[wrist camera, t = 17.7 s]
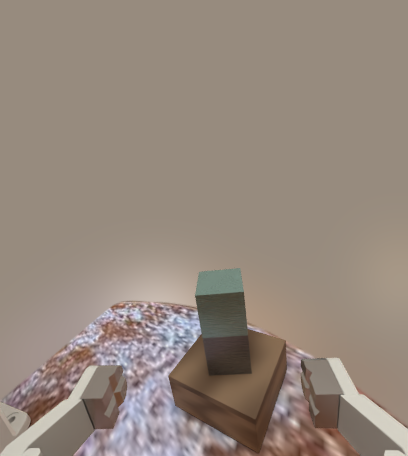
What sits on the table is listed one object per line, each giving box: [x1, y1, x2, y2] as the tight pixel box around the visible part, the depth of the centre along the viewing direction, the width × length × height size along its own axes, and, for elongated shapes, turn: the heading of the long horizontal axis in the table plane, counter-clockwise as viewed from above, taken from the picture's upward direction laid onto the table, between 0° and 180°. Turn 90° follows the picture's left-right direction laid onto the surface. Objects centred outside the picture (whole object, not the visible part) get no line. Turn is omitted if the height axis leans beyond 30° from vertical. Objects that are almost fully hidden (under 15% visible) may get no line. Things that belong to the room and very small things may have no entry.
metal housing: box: [195, 268, 252, 376], centre depth 29 cm, size 5×5×11 cm
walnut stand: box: [169, 329, 287, 453], centre depth 32 cm, size 11×11×5 cm
